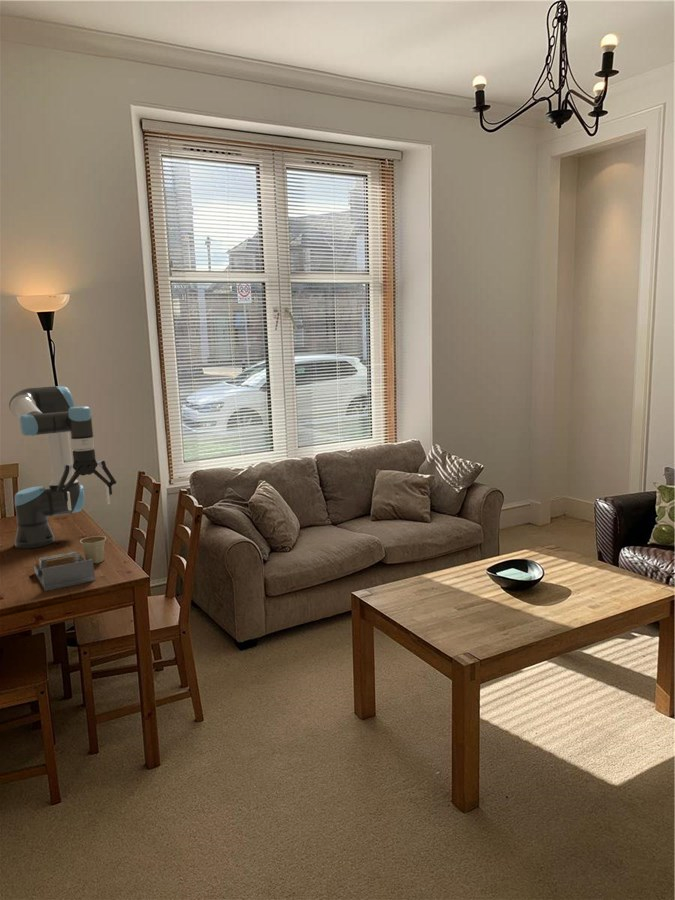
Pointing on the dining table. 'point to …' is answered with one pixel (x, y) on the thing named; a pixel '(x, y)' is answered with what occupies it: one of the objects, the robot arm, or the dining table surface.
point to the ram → (59, 559)
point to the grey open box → (65, 574)
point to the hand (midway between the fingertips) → (89, 506)
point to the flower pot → (94, 548)
